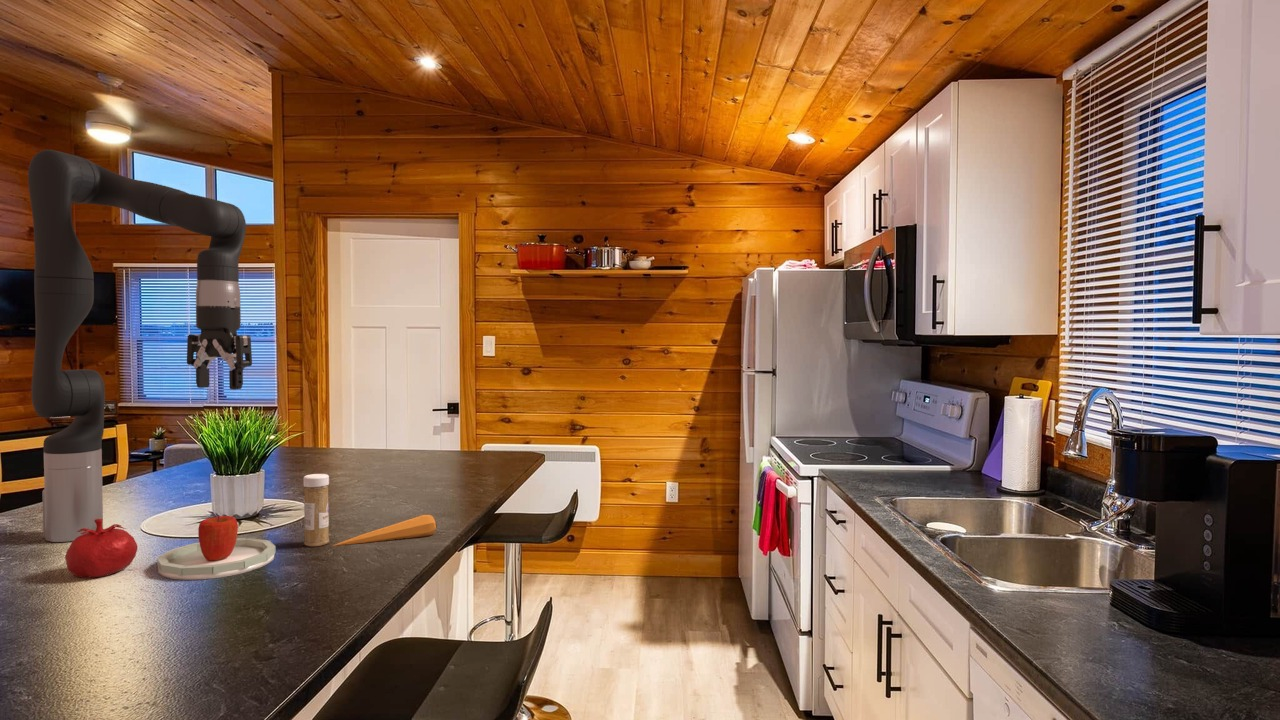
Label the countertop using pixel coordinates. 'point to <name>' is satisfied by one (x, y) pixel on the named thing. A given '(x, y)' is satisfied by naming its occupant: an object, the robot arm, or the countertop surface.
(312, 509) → the spice jar
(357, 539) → the carrot
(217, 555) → the apple
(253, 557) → the dish
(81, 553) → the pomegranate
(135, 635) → the countertop surface
